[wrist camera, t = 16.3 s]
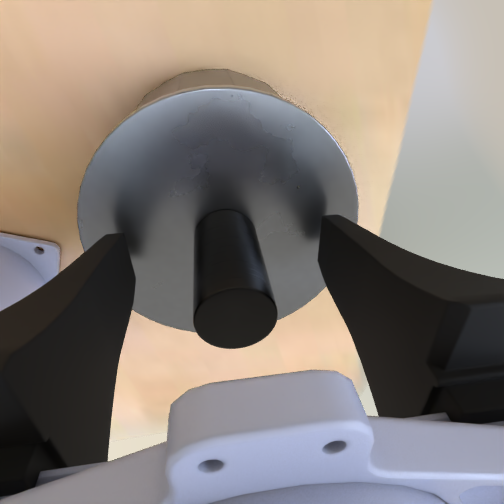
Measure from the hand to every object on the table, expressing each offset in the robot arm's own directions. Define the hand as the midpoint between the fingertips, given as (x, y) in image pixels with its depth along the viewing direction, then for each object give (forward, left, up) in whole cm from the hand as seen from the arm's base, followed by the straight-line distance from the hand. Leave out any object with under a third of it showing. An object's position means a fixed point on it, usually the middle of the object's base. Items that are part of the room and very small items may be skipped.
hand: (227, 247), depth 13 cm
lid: (0, 0, -1) cm, 1 cm away
